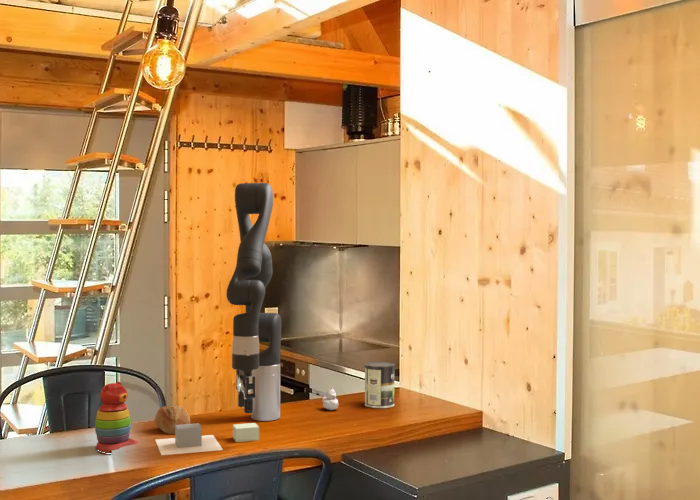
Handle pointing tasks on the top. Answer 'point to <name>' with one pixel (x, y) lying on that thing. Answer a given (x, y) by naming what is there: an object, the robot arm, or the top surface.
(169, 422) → the bread roll
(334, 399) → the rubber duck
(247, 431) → the sage brick
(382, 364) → the coffee can
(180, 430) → the slate brick
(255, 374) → the robot arm
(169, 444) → the baseplate
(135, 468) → the top surface
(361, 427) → the top surface
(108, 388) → the stacking bear
